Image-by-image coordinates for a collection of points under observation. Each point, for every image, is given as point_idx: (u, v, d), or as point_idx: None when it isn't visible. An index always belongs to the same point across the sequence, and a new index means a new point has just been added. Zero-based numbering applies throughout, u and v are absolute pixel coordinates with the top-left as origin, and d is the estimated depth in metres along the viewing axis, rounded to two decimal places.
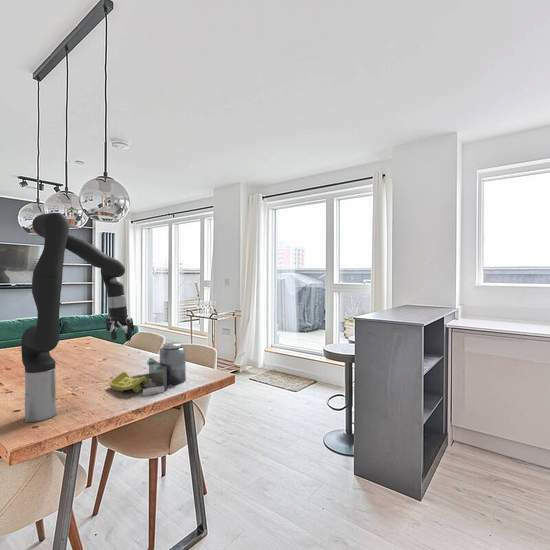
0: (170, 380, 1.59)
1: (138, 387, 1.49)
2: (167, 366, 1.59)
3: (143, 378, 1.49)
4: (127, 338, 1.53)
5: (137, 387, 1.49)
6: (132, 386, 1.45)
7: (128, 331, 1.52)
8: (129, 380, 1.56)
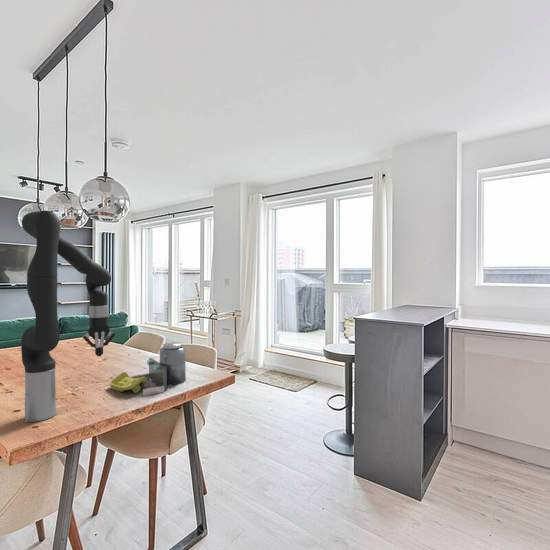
0: (170, 380, 1.59)
1: (137, 387, 1.49)
2: (167, 366, 1.59)
3: (142, 378, 1.48)
4: (101, 353, 1.47)
5: (136, 387, 1.49)
6: (131, 386, 1.45)
7: (105, 344, 1.47)
8: (129, 380, 1.56)
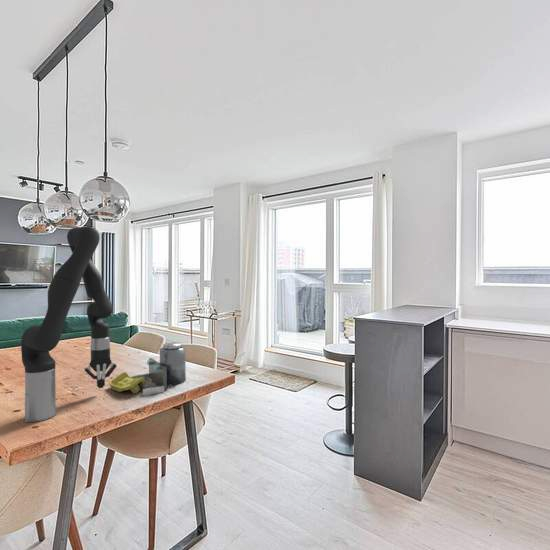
0: (170, 380, 1.59)
1: (136, 388, 1.48)
2: (167, 366, 1.59)
3: (141, 379, 1.47)
4: (103, 384, 1.47)
5: (135, 388, 1.48)
6: (129, 387, 1.44)
7: (106, 376, 1.47)
8: (128, 380, 1.56)
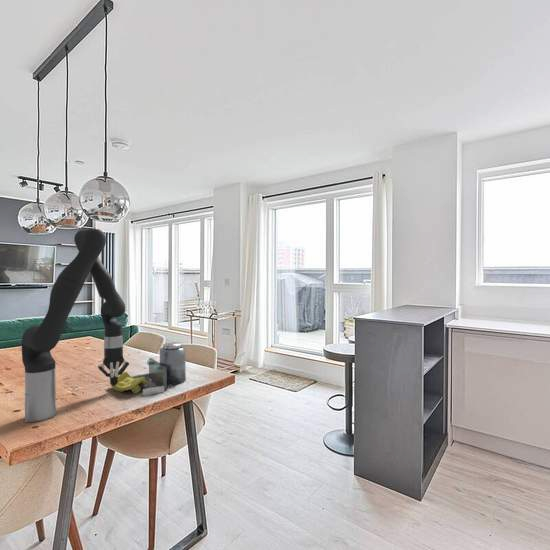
0: (170, 380, 1.59)
1: (137, 388, 1.48)
2: (167, 366, 1.59)
3: (142, 379, 1.48)
4: (116, 382, 1.50)
5: (136, 388, 1.48)
6: (130, 387, 1.44)
7: (119, 374, 1.50)
8: (129, 380, 1.56)
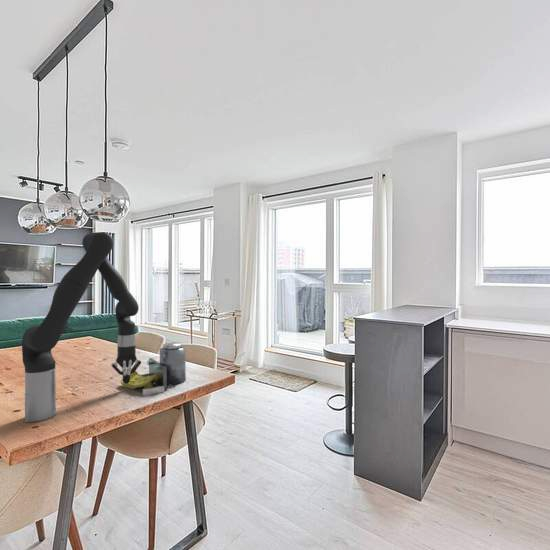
0: (170, 380, 1.59)
1: (149, 385, 1.53)
2: (167, 366, 1.59)
3: (154, 376, 1.52)
4: (128, 380, 1.53)
5: (148, 385, 1.52)
6: (144, 384, 1.49)
7: (132, 372, 1.53)
8: (140, 378, 1.60)
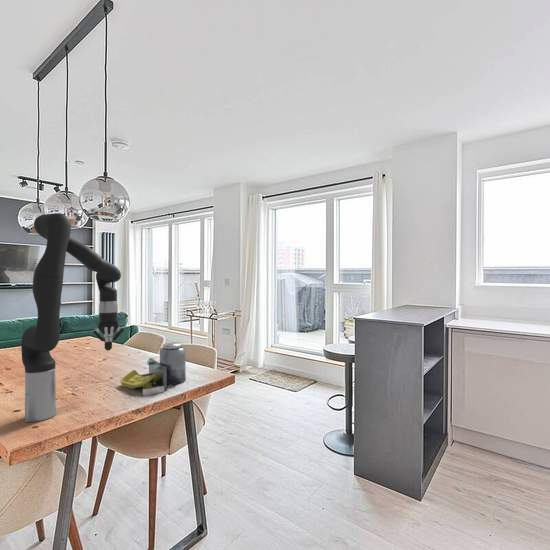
0: (170, 380, 1.59)
1: (148, 385, 1.53)
2: (167, 366, 1.59)
3: (153, 376, 1.52)
4: (110, 347, 1.51)
5: (147, 385, 1.52)
6: (143, 384, 1.48)
7: (114, 339, 1.52)
8: (139, 378, 1.60)
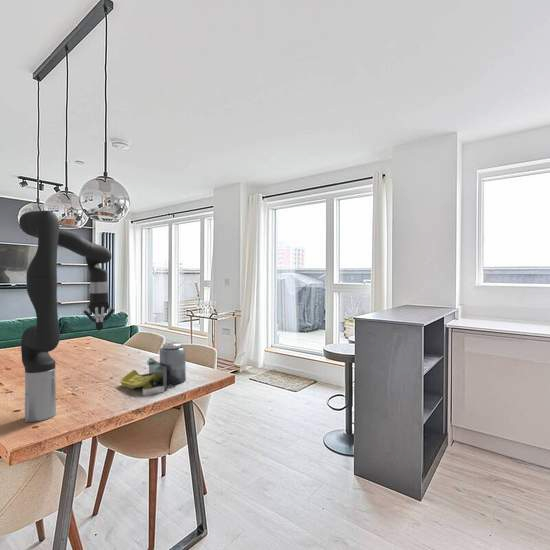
0: (170, 380, 1.59)
1: (148, 385, 1.52)
2: (167, 366, 1.59)
3: (153, 376, 1.52)
4: (101, 327, 1.53)
5: (147, 385, 1.52)
6: (142, 384, 1.48)
7: (105, 319, 1.53)
8: (139, 378, 1.59)
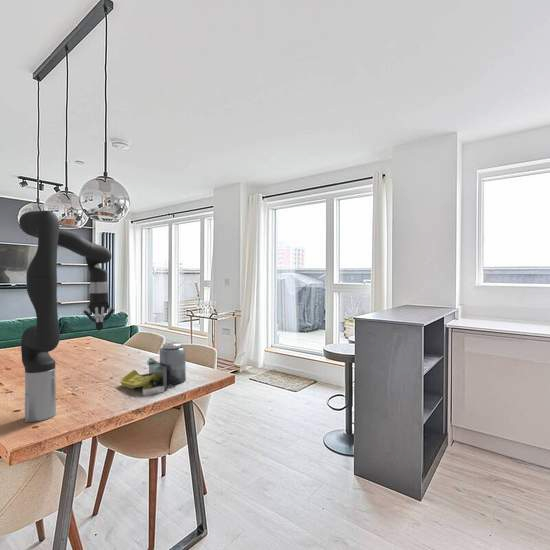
0: (170, 380, 1.59)
1: (148, 385, 1.52)
2: (167, 366, 1.59)
3: (153, 376, 1.52)
4: (101, 327, 1.53)
5: (147, 385, 1.52)
6: (142, 384, 1.48)
7: (105, 319, 1.53)
8: (139, 378, 1.59)
